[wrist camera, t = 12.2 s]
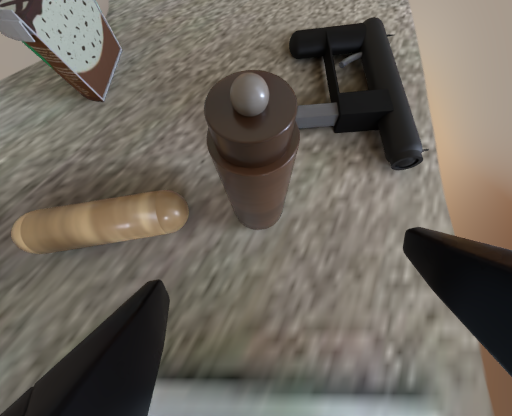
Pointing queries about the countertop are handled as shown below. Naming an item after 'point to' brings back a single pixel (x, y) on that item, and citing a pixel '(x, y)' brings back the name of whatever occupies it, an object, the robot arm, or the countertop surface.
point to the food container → (66, 40)
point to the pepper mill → (253, 142)
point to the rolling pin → (100, 222)
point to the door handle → (361, 102)
